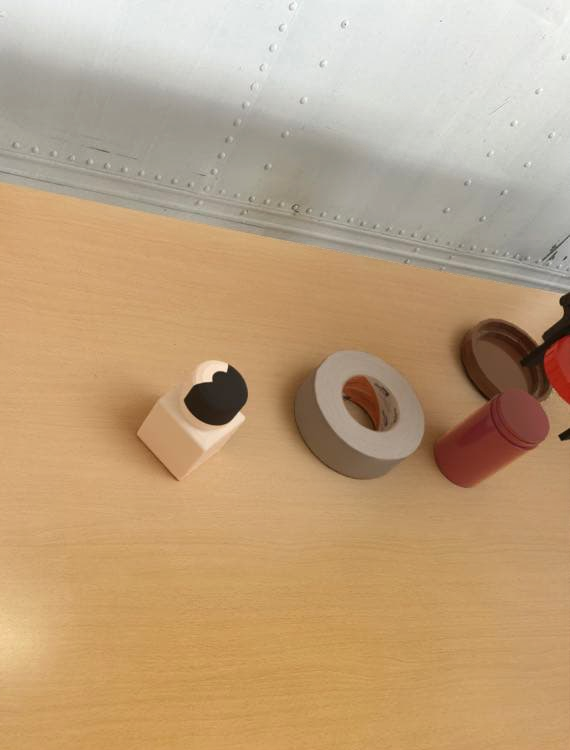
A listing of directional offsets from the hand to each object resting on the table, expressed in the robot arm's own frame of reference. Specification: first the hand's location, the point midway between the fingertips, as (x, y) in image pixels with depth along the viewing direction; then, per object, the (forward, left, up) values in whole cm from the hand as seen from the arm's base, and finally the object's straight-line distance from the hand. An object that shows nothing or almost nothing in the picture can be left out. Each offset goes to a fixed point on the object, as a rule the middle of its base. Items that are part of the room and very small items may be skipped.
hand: (547, 399), depth 89 cm
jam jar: (0, 0, -15) cm, 15 cm away
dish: (-3, -20, -15) cm, 25 cm away
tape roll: (+16, +5, -15) cm, 23 cm away
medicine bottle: (+34, +21, -15) cm, 43 cm away
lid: (0, 0, +6) cm, 6 cm away
